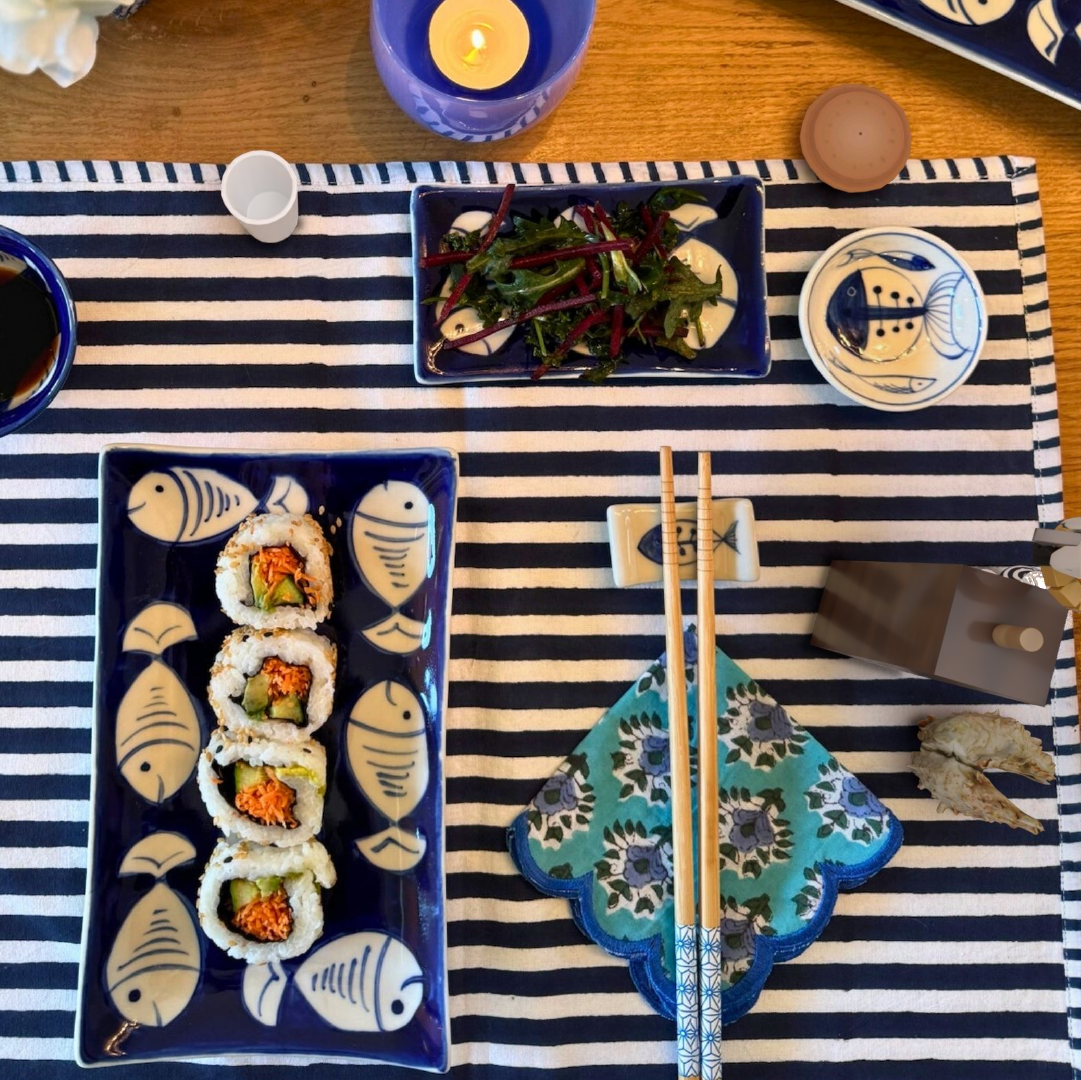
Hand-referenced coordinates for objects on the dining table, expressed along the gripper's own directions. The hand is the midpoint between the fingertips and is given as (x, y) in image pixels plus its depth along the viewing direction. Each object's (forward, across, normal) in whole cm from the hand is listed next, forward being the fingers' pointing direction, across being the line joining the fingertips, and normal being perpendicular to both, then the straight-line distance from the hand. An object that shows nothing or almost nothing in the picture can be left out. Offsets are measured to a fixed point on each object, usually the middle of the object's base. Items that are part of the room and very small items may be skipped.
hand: (1054, 554), depth 102 cm
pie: (+42, -18, +54) cm, 71 cm away
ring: (0, +4, 0) cm, 4 cm away
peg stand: (+42, +2, -8) cm, 43 cm away
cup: (+42, -93, +20) cm, 104 cm away
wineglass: (+42, +17, +1) cm, 46 cm away
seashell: (+42, +18, -23) cm, 52 cm away
